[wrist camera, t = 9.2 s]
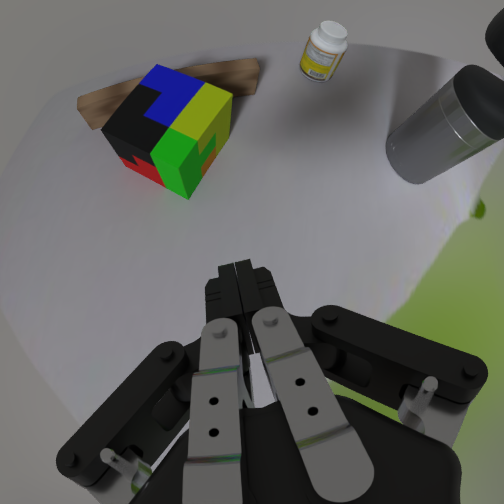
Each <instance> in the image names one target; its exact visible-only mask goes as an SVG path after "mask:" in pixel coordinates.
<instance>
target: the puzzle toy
mask: <svg viewBox="0 0 504 504" xmlns="http://www.w3.org/2000/svg"><path fill="white" fill-rule="evenodd" d="M232 98H233V94H232V93H229V92H227V91H225V90H223V89H220V88H218V87H216V86H213V85H211V84H208V83H206V82H203V81H201V80H198V79H196V78H193V77H191V76H188V75H186V74H183V73H180V72H178V71H175V70H172V69H169V68H167V67H164V66H161V65H158V64H156V65H155V66H154V68H153V69H152V70H151V71H150V72H149V73H148V74H147V75H146V76H145V77H144V78H143V79H142V80H141V81H140V83H139V84H138V85H137V86H136V87H135V88H134V89H133V90H132V92H131V93H130V94H129V95H128V96H127V97H126V99H125V100H124V101H123V102H122V103H121V105H120V106H119V107H118V108H117V109H116V111H115V112H114V113H113V114H112V116H111V117H110V118H109V119H108V121H107V122H106V123H105V125H104V126H103V127H102V129H101V131H102V133H103V134H104V136H105V137H106V138H107V140H108V141H109V143H110V144H111V146H112V147H113V149H114V150H115V152H116V153H117V154H118V156H119V157H120V159H121V160H122V162H123V163H124V165H125V166H126V167H128V168H130V169H132V170H134V171H136V172H138V173H139V174H141V175H143V176H145V177H147V178H149V179H151V180H152V181H154V182H156V183H158V184H160V185H162V186H164V187H165V188H167V189H169V190H171V191H173V192H175V193H176V194H178V195H180V196H182V197H184V198H186V199H187V200H189V198H190V197H191V195H192V193H193V192H194V190H195V189H196V187H197V185H198V184H199V182H200V181H201V179H202V178H203V176H204V175H205V173H206V171H207V170H208V168H209V167H210V165H211V164H212V162H213V161H214V159H215V158H216V156H217V155H218V153H219V152H220V150H221V149H222V147H223V146H224V144H225V143H226V142H227V140H228V139H229V132H230V120H231V109H232Z"/></svg>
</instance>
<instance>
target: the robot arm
mask: <svg viewBox="0 0 504 504" xmlns="http://www.w3.org/2000/svg"><path fill="white" fill-rule="evenodd" d="M485 40H486V44H487V46H488V48H489V49H490V51H491V52H492V54H493V55H494V56H495V58H496V59H497V60H498V61H499V62H500V64H501V65H502V66H503V67H504V8H503V9H502V10H501V11H500V12H499V13H498V14H497V15H496V16H495V17H494V18H493V20H492V21H491V22H490V24H489V25H488V28H487V30H486V34H485ZM503 138H504V81H503V80H501V79H499V78H498V77H496V76H495V75H493V74H492V73H490V72H489V71H487V70H485V69H484V68H482V67H479V66H477V65H467V66H465V67H463V68H462V69H461V70H460V71H459V72H458V73H457V74H456V75H455V76H454V77H453V78H451V79H450V80H449V81H448V82H447V83H446V84H445V85H444V86H443V87H442V88H441V89H440V90H439V91H438V92H437V93H436V94H434V95H433V96H432V97H431V98H430V99H429V100H428V101H427V102H426V103H425V104H424V105H423V106H421V107H420V108H419V109H418V110H417V111H416V112H415V113H414V114H413V115H412V116H411V117H409V118H408V119H407V120H406V121H405V122H404V123H403V124H402V125H401V126H400V127H399V128H397V129H396V130H395V131H394V132H393V133H392V134H391V135H390V136H389V138H388V140H387V143H386V152H387V156H388V159H389V161H390V164H391V165H392V167H393V169H394V170H395V171H396V172H397V174H398V175H399V176H401V177H402V178H403V179H404V180H406V181H408V182H410V183H413V184H423V183H424V182H426V181H428V180H430V179H432V178H434V177H436V176H437V175H439V174H441V173H443V172H445V171H447V170H448V169H450V168H452V167H454V166H456V165H457V164H459V163H461V162H463V161H464V160H466V159H468V158H470V157H472V156H473V155H475V154H477V153H479V152H480V151H482V150H484V149H485V148H487V147H489V146H491V145H492V144H494V143H496V142H498V141H499V140H501V139H503ZM235 267H236V271H235ZM235 267H234V263H230V264H226V265H222V266H218V273H219V277H218V278H214V279H209V281H208V283H207V284H206V286H205V301H206V325H205V326H204V328H203V330H202V333H201V337H200V338H199V339H197V340H196V341H194V342H192V343H190V344H188V345H186V346H184V347H183V346H182V345H181V344H180V343H179V342H176V341H168V342H164V343H162V344H160V345H158V346H157V347H156V348H155V349H154V350H153V351H152V352H151V353H150V354H149V355H148V356H147V357H146V358H145V359H144V360H143V361H142V362H141V363H140V364H139V366H138V367H137V368H136V369H135V370H134V371H133V372H132V373H131V374H130V375H129V376H128V377H127V378H126V379H125V380H124V381H123V383H122V384H121V385H120V386H119V387H118V388H117V389H116V390H115V391H114V392H113V393H112V394H111V395H110V396H109V397H108V398H107V400H106V401H105V402H104V403H103V404H102V405H101V406H100V407H99V408H98V409H97V410H96V411H95V412H94V413H93V415H92V416H91V417H90V418H89V419H88V420H87V421H86V422H85V423H84V424H83V425H82V426H81V427H80V428H79V429H78V431H77V432H76V433H75V434H74V435H73V436H72V437H71V438H70V439H69V440H68V441H67V442H66V443H65V445H64V446H63V447H62V448H61V449H60V450H59V452H58V454H57V457H56V465H57V468H58V470H59V472H60V473H61V474H62V475H64V476H65V477H67V478H69V479H70V480H73V481H74V482H75V483H76V484H78V485H79V486H81V487H83V488H85V489H87V490H88V491H89V492H90V493H91V494H92V495H93V496H94V497H95V498H96V499H97V500H98V501H99V502H100V503H101V504H460V485H461V475H462V471H461V464H460V461H459V459H458V457H457V455H456V453H455V452H454V451H453V450H452V449H451V448H452V446H453V444H454V441H455V439H456V437H457V434H458V432H459V430H460V427H461V425H462V423H463V420H464V417H465V415H466V412H467V409H468V407H469V405H470V404H471V403H472V401H473V400H474V398H475V397H476V395H477V394H478V393H479V391H480V390H481V388H482V387H483V385H484V384H485V382H486V380H487V377H488V369H487V366H486V364H485V363H484V362H483V361H482V360H481V359H480V358H479V357H477V356H474V355H471V354H468V353H466V352H463V351H460V350H457V349H454V348H451V347H449V346H446V345H443V344H440V343H437V342H434V341H432V340H428V339H426V338H423V337H421V336H418V335H415V334H412V333H410V332H407V331H404V330H401V329H399V328H396V327H393V326H390V325H388V324H385V323H382V322H380V321H377V320H374V319H372V318H369V317H366V316H363V315H361V314H358V313H355V312H353V311H350V310H348V309H345V308H342V307H340V306H336V305H326V306H323V307H320V308H318V309H317V310H315V311H314V313H313V314H312V316H311V317H299V316H294V315H291V314H289V313H288V312H287V311H286V310H285V309H284V307H283V304H282V302H281V299H280V296H279V294H278V291H277V288H276V286H275V283H274V280H273V277H272V274H271V272H270V271H269V270H267V269H266V268H265V267H260V268H256V269H253V268H252V264H251V261H250V259H247V260H243V261H239V262H235ZM236 272H237V275H236ZM249 331H250V332H249ZM250 335H251V337H250ZM251 339H252V342H253V346H254V350H255V353H259V352H260V356H261V359H262V363H263V367H264V370H265V373H266V376H267V379H268V382H269V385H270V388H271V390H272V393H273V396H274V399H275V402H274V403H272V404H270V405H267V406H265V407H263V408H255V406H254V396H253V385H252V375H251V368H250V359H249V355H251V354H254V351H253V347H252V342H251ZM325 377H326V378H328V379H330V380H332V381H335V382H337V383H339V384H341V385H343V386H345V387H347V388H349V389H351V390H353V391H355V392H357V393H360V394H362V395H364V396H366V397H369V398H371V399H372V400H375V401H377V402H380V403H382V404H384V405H386V406H388V407H391V408H393V409H395V410H397V411H398V417H399V419H400V421H401V422H402V423H403V424H404V425H403V424H401V423H399V422H397V421H395V420H393V419H390V418H389V417H387V416H385V415H383V414H381V413H378V412H377V411H375V410H373V409H371V408H369V407H367V406H365V405H362V404H361V403H359V402H357V401H355V400H353V399H350V398H348V397H345V396H340V395H334V394H333V392H332V390H331V388H330V386H329V384H328V382H327V380H326V378H325ZM164 394H165V395H164ZM159 400H160V401H159ZM158 401H159V402H158ZM189 419H190V422H189V429H188V430H186V431H185V432H184V433H183V434H182V435H181V436H180V437H179V439H178V440H177V441H176V443H175V444H174V445H173V447H172V448H171V449H170V451H169V452H168V453H167V455H166V456H165V457H164V459H163V460H162V461H161V463H160V464H159V465H158V466H157V468H156V469H155V470H154V472H153V473H152V469H151V466H152V465H153V464H154V463H155V461H156V460H157V459H158V458H159V457H160V455H161V454H162V453H163V452H164V450H165V449H166V448H167V447H168V445H169V444H170V443H171V442H172V441H173V439H174V438H175V437H176V436H177V434H178V433H179V432H180V430H181V429H182V428H183V427H184V425H185V424H186V423H187V422H188V420H189Z"/></svg>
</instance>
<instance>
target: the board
mask: <svg viewBox="0 0 504 504" xmlns="http://www.w3.org/2000/svg"><path fill="white" fill-rule="evenodd" d="M259 70H260V67H259V65H258V62H257V59H256V58H253V59H242V60H233V61H225V62H217V63H210V64H204V65H197V66H192V67H186V68H181V69H176V70H175V71H178V72H180V73H183V74H186V75H188V76H191V77H193V78H196V79H198V80H201V81H203V82H206V83H208V84H211V85H213V86H216V87H218V88H220V89H223V90H225V91H227V92H229V93H232V94H233V97H238V96H245V95H254V94H255V90H256V85H257V80H258V75H259ZM143 78H144V77H141V78H137V79H133V80H130V81H126V82H123V83H119V84H116V85H113V86H109V87H106V88H103V89H100V90H97V91H94V92H91V93H88V94H86V95H83V96H80V97H78V100H77V110H78V111H79V112H80V114H81V115H82V117H83V118H84V119H85V121H86V122H87V124H88V125H89V126H90V128H91V129H92V130H94V129H97V128H100V127H103V126H104V125H105V123H106V122H107V121H108V119H109V118H110V117H111V116H112V114H113V113H114V112H115V111H116V109H117V108H118V107H119V106H120V105H121V103H122V102H123V101H124V100H125V99H126V97H127V96H128V95H129V94H130V93H131V92H132V90H133V89H134V88H135V87H136V86H137V85H138V84H139V83H140V81H141V80H142V79H143Z"/></svg>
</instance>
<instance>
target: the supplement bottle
mask: <svg viewBox="0 0 504 504" xmlns="http://www.w3.org/2000/svg"><path fill="white" fill-rule="evenodd" d="M347 35H348V32H347V30H346V29H345V28H344V27H343V26H342V25H341V24H339V23H337V22H333V21H323V22H322V23H321V25H320V26H319V28H316V29H315V30H313V31H312V32H311V35H310V37H309V40H308V42H307V45H306V48H305V50H304V53H303V56H302V59H301V61H300V70H301V72H302V73H303V75H304V76H306V77H307V78H308V79H310V80H313V81H316V82H325V81H328V80H329V79H330V78H331V77H332V76H333V74H334V72H335V70H336V68H337V66H338V64H339V63H340V61H341V59H342V57H343V55H344V53H345V51H346V49H347V47H348V44H347V41H346V37H347Z"/></svg>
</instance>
